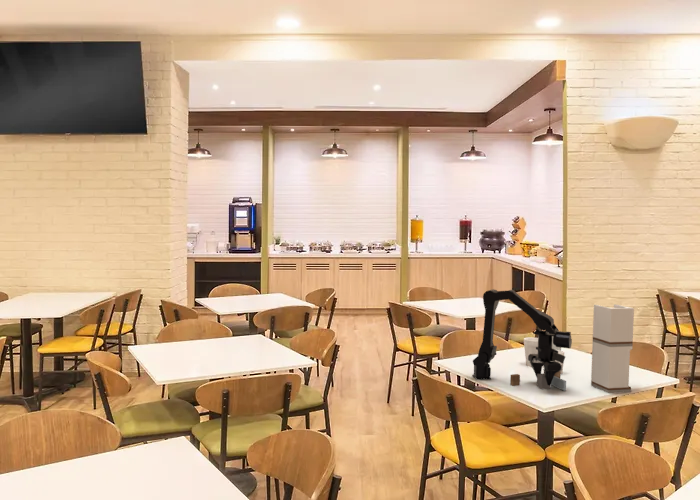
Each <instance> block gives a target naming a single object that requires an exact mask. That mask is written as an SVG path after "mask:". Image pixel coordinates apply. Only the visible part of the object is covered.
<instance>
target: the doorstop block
mask: <svg viewBox="0 0 700 500" xmlns="http://www.w3.org/2000/svg"><path fill="white" fill-rule="evenodd" d="M536 387H538V389H540V390H551V385H547V381H546V378H545V374H544V373H541V374H537V377H536Z"/></svg>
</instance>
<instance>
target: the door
mask: <svg viewBox="0 0 700 500" xmlns="http://www.w3.org/2000/svg"><path fill="white" fill-rule="evenodd" d="M550 386H553V387H555V388H557V389H559V390H562V391H563V392H565V391H567V380H565V379H563V378H561V377H560V378H558V377H556V376H554V377H553V380H552V382H551V385H550Z"/></svg>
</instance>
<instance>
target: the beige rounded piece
mask: <svg viewBox="0 0 700 500" xmlns="http://www.w3.org/2000/svg"><path fill="white" fill-rule="evenodd" d="M557 351H558V353H559V354H561V355H563V356H565V351H564V350H561V351H560V350H557ZM551 362H558V363H560V364H561V365H562V370H560V371H561V374H560V375H563V373H564V372H563V369H564V365H565V364H564V363H565V361H564V362H563V363H561V362H559V361H556V360H555V361H551Z"/></svg>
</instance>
